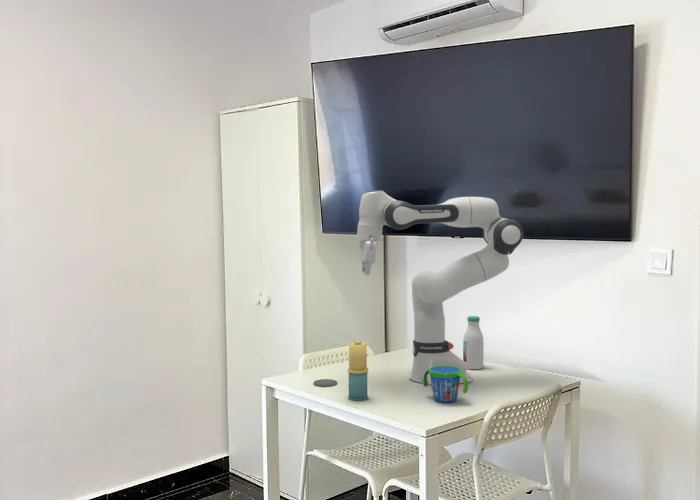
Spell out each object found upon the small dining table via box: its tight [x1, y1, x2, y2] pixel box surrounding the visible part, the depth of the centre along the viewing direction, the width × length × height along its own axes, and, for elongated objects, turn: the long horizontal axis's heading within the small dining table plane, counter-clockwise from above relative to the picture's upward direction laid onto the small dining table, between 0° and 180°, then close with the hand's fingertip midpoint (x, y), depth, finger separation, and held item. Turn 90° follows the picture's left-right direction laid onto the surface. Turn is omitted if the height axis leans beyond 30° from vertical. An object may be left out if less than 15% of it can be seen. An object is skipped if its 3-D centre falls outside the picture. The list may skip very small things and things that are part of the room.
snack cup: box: [422, 366, 469, 403], centre depth 226 cm, size 16×10×10 cm
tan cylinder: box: [347, 340, 369, 374], centre depth 229 cm, size 7×7×10 cm
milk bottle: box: [462, 315, 484, 371], centre depth 269 cm, size 8×8×20 cm
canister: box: [347, 372, 369, 402], centre depth 229 cm, size 7×7×9 cm
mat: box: [313, 378, 338, 388], centre depth 248 cm, size 8×8×1 cm
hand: (365, 273), depth 249 cm, fingers open, 8 cm apart
